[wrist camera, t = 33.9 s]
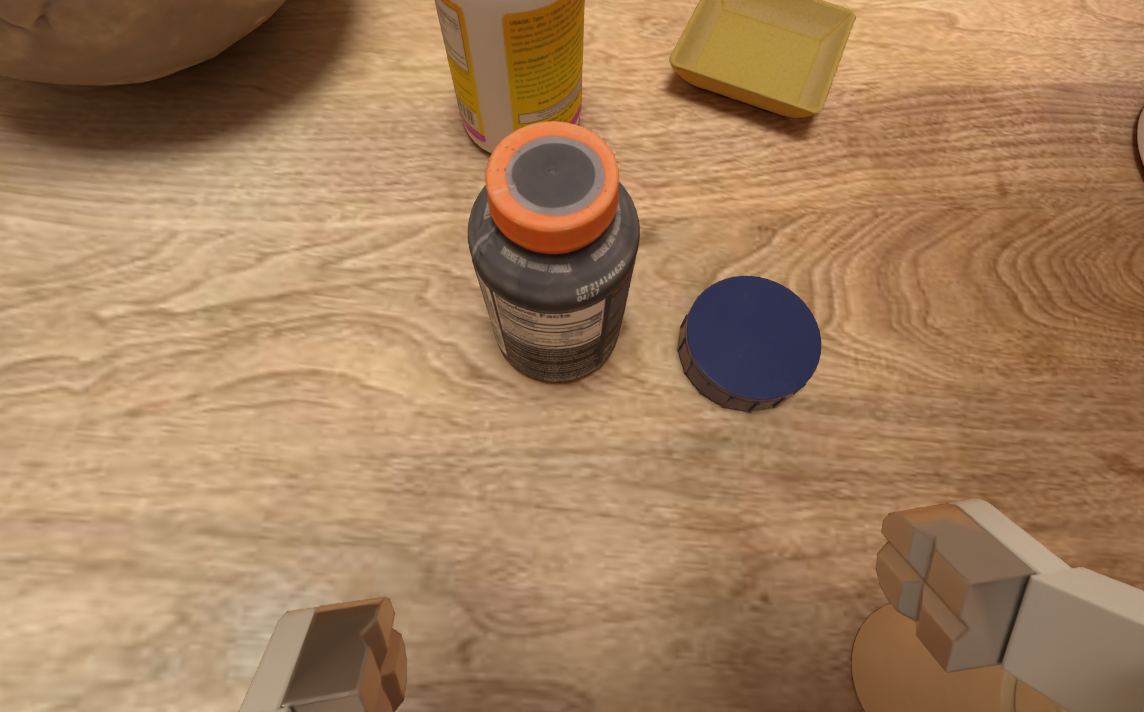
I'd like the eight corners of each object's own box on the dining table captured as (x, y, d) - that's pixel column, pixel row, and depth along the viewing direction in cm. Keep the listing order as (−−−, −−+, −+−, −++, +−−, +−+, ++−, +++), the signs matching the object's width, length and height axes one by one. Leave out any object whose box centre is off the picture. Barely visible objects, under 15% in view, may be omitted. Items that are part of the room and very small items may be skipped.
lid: (652, 334, 27) (658, 317, 25) (748, 273, 28) (760, 253, 26) (733, 437, 25) (746, 427, 23) (831, 367, 26) (851, 352, 25)
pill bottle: (552, 251, 28) (547, 61, 18) (643, 322, 27) (696, 162, 16) (469, 332, 27) (408, 174, 16) (561, 411, 25) (562, 297, 15)
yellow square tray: (708, -2, 35) (717, -35, 33) (842, 41, 34) (859, 9, 32) (659, 92, 32) (666, 61, 30) (804, 143, 31) (820, 114, 29)
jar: (963, 595, 23) (1224, 611, 14) (1012, 751, 21) (1351, 886, 12) (835, 607, 23) (1016, 632, 14) (872, 767, 21) (1112, 917, 12)
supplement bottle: (596, 93, 32) (618, -191, 20) (555, 180, 30) (552, -82, 18) (489, 61, 33) (449, -231, 21) (441, 144, 31) (365, -131, 19)
